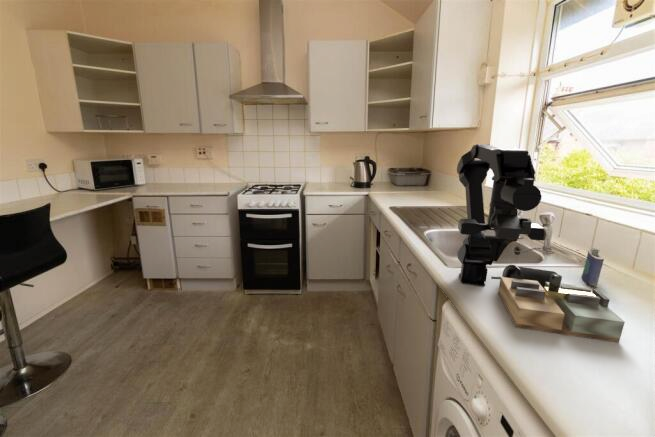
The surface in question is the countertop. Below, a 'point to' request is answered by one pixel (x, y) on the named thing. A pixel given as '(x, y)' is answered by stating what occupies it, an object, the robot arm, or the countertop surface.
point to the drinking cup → (527, 274)
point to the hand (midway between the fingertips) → (494, 260)
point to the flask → (592, 268)
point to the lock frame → (560, 310)
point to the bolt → (556, 292)
